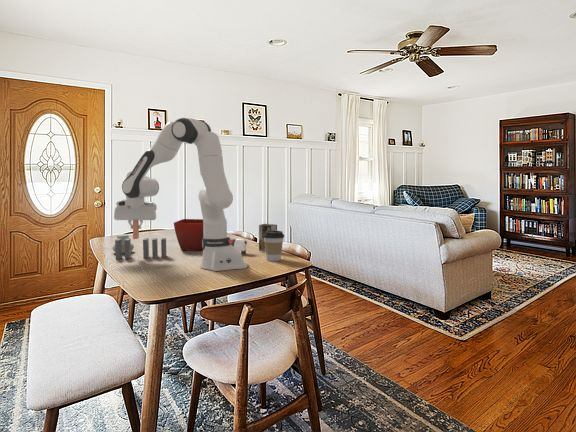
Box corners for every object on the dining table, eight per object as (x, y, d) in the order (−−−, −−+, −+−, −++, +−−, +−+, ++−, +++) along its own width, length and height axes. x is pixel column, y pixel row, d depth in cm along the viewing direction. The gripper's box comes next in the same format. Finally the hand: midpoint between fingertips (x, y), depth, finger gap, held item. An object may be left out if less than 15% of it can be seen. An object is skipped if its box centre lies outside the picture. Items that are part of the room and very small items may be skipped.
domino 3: (138, 237, 192) (138, 218, 191) (137, 239, 187) (136, 219, 186) (134, 237, 191) (134, 218, 190) (133, 239, 186) (132, 219, 185)
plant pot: (206, 252, 208) (206, 223, 206) (173, 251, 208) (173, 222, 206) (213, 245, 227) (213, 219, 225) (183, 245, 227) (183, 218, 225)
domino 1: (122, 257, 191) (121, 238, 190) (119, 259, 186) (119, 240, 185) (117, 257, 190) (117, 238, 189) (115, 259, 186) (115, 240, 185)
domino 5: (157, 256, 195) (157, 237, 194) (156, 258, 190) (156, 239, 189) (153, 256, 194) (153, 238, 193) (152, 258, 190) (152, 239, 189)
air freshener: (114, 255, 196) (114, 237, 195) (111, 252, 202) (110, 235, 201) (135, 252, 203) (135, 235, 202) (131, 250, 209) (131, 233, 208)
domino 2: (131, 257, 192) (130, 238, 191) (129, 259, 187) (128, 240, 186) (127, 257, 192) (126, 238, 190) (125, 259, 187) (124, 240, 186)
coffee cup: (288, 259, 190) (289, 231, 189) (273, 263, 182) (273, 234, 180) (273, 256, 198) (273, 229, 196) (258, 259, 190) (258, 231, 188)
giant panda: (248, 253, 206) (248, 236, 205) (245, 255, 200) (245, 238, 199) (223, 252, 208) (223, 235, 207) (220, 254, 203) (220, 237, 202)
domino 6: (166, 255, 196) (166, 237, 195) (165, 257, 191) (165, 239, 190) (162, 255, 196) (162, 237, 194) (161, 257, 191) (161, 239, 190)
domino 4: (148, 256, 194) (148, 238, 193) (147, 258, 189) (147, 239, 188) (145, 256, 194) (144, 238, 192) (143, 258, 189) (142, 239, 188)
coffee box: (277, 251, 211) (277, 224, 210) (271, 253, 206) (271, 225, 204) (264, 249, 216) (265, 223, 214) (258, 251, 211) (258, 224, 209)
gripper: (157, 202, 193) (157, 227, 194) (115, 201, 188) (116, 228, 189) (155, 202, 186) (156, 229, 188) (112, 202, 182) (113, 229, 183)
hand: (135, 228), depth 188 cm, fingers closed on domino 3, 2 cm apart
